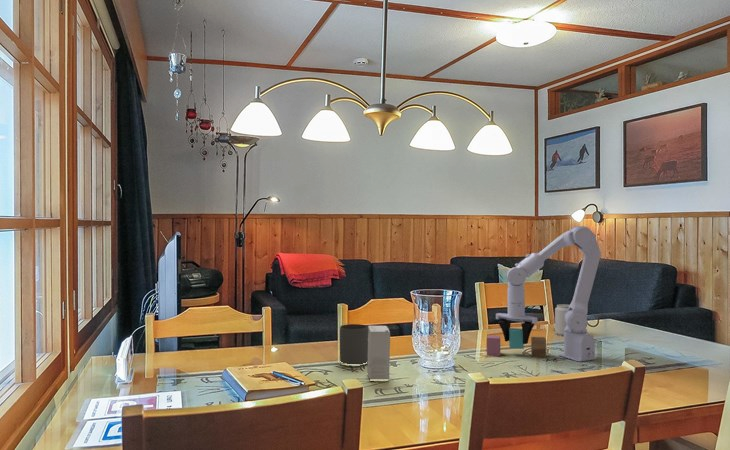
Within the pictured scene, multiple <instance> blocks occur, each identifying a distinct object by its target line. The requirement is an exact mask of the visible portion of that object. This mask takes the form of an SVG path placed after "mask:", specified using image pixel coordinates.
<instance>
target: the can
mask: <svg viewBox="0 0 730 450" xmlns="http://www.w3.org/2000/svg"><path fill="white" fill-rule="evenodd" d="M569 306H570V304H560V303H559V304H556V307H555V308H554V333H555V334H556V335H557V334H558V335H557V336H560V335H561V337H564V328H565V327H566V325H567V324H566V323H565V321H564V314H565V312H566V311H567V310H568V309H569Z"/></svg>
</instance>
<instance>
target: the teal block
mask: <svg viewBox="0 0 730 450" xmlns="http://www.w3.org/2000/svg"><path fill="white" fill-rule="evenodd" d="M508 343H509V344H508V345H509V349H515V350H516V349H517V350H518V349H522V350H523V349H524V348H525V344H523V330H522V328H511V327H510V328H509V341H508Z"/></svg>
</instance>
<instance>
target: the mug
mask: <svg viewBox="0 0 730 450" xmlns="http://www.w3.org/2000/svg"><path fill="white" fill-rule="evenodd" d="M340 361H341V362H343V363H347V364H363V363H366V362H367V361H368V325H365V324H359V323H358V324H357V323H351V324H349V323H348V324H343V325H340V327H339V362H340Z"/></svg>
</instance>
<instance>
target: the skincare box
mask: <svg viewBox="0 0 730 450" xmlns="http://www.w3.org/2000/svg"><path fill="white" fill-rule="evenodd" d="M367 327H368V362H367V365H366V366H367V367H366V368H367V369H366V370H367V371H366V374H367V373H368V375H369V377H368V379H369V378H370V379H389V380H390V364H391V363H390V361H391V360H390V357H391V356H390V355H391V331H390V329H389V327H388V326H387V325H367ZM368 375H367V376H368Z"/></svg>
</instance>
